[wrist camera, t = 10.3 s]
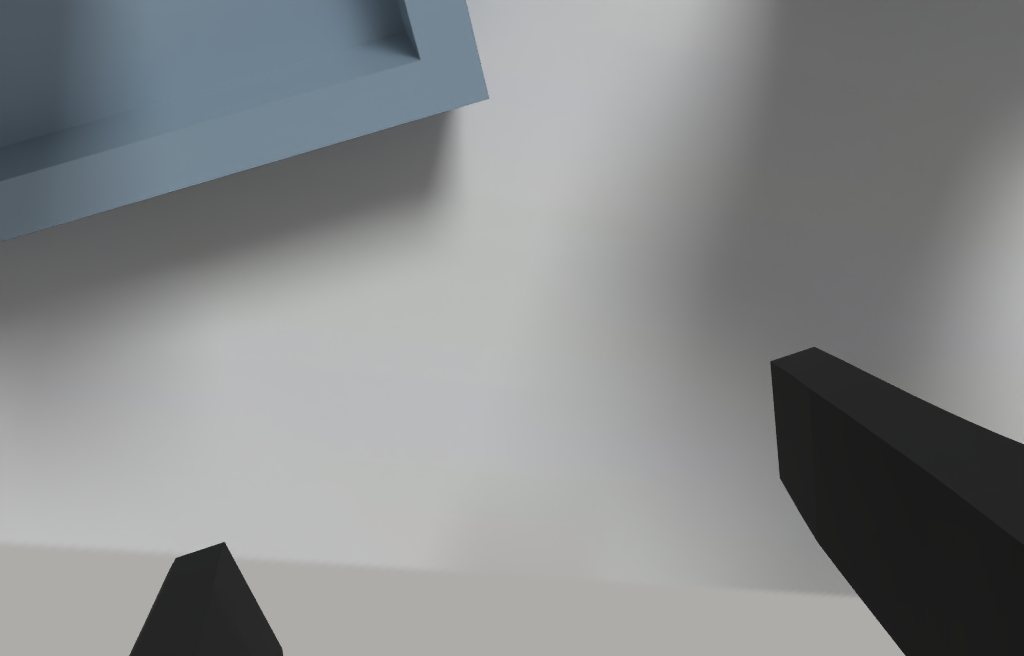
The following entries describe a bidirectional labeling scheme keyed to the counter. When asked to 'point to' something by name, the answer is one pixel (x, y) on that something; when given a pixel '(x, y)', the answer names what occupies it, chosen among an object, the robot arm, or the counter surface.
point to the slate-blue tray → (206, 91)
